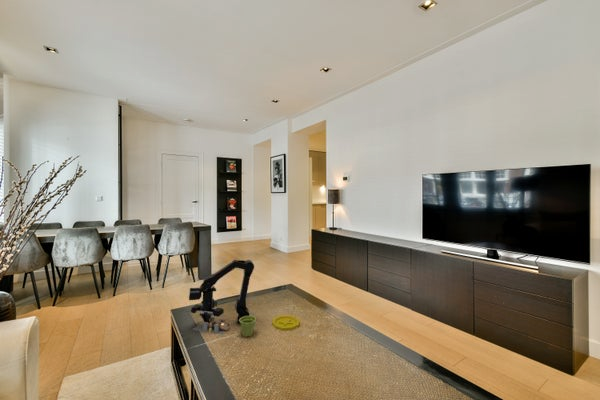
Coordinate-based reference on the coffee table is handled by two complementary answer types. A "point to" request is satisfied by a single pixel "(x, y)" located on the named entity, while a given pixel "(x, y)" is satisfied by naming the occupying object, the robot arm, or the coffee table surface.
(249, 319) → the plant pot
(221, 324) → the copper tube
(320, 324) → the coffee table surface
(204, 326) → the board
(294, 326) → the decorative disc
